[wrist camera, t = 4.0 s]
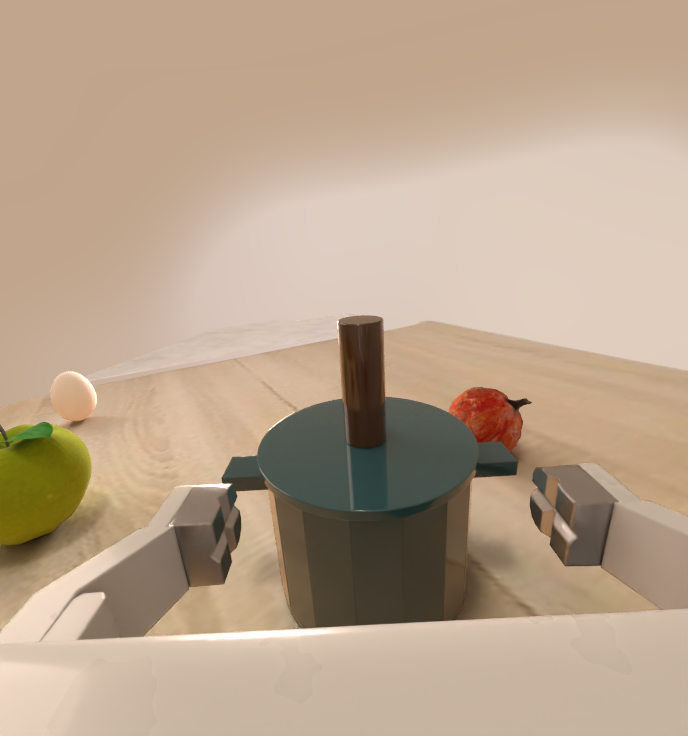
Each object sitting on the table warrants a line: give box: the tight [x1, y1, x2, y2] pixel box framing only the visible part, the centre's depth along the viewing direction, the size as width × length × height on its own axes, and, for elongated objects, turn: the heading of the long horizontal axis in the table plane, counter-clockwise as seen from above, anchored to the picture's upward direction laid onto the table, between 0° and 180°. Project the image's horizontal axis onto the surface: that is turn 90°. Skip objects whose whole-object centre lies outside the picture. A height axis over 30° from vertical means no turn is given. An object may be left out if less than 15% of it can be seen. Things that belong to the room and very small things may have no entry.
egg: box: [50, 372, 97, 421], centre depth 52 cm, size 5×5×7 cm
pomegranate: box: [449, 387, 532, 451], centre depth 38 cm, size 7×7×10 cm
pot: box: [222, 441, 518, 628], centre depth 24 cm, size 12×18×10 cm
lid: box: [257, 316, 479, 521], centre depth 22 cm, size 13×13×9 cm
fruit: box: [0, 422, 92, 545], centre depth 30 cm, size 9×9×10 cm
